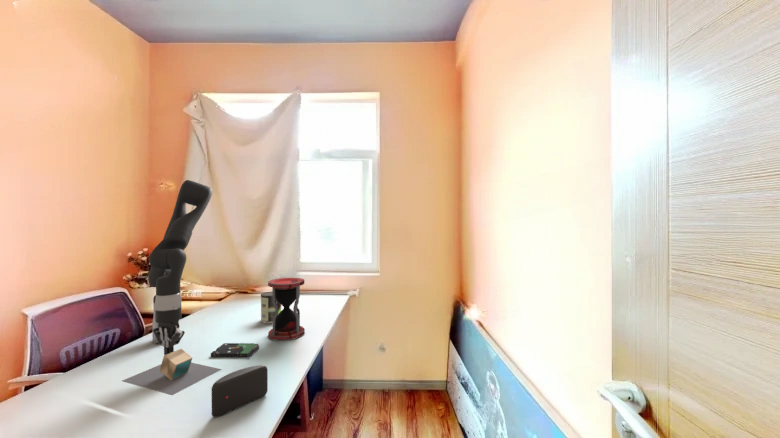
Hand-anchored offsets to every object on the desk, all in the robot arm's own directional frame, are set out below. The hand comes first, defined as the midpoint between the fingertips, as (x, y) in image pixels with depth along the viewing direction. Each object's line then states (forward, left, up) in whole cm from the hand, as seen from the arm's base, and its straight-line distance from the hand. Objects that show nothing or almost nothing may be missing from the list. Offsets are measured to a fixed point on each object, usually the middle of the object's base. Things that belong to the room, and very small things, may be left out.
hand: (168, 356), depth 114 cm
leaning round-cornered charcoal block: (+37, -5, -7) cm, 38 cm away
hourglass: (+12, +47, -7) cm, 49 cm away
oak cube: (+1, 0, -1) cm, 1 cm away
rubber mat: (+2, 0, -6) cm, 7 cm away
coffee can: (-9, +61, -7) cm, 62 cm away
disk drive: (+7, +22, -7) cm, 24 cm away
